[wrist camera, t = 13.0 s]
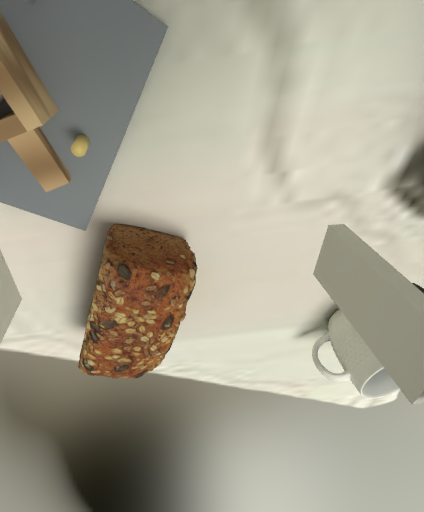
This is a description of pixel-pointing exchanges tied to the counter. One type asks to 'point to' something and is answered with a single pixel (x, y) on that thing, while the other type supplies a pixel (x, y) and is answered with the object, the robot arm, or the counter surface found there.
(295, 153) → the counter surface
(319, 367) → the mug
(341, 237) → the robot arm
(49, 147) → the wooden frame with handle
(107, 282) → the bread
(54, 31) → the post base
